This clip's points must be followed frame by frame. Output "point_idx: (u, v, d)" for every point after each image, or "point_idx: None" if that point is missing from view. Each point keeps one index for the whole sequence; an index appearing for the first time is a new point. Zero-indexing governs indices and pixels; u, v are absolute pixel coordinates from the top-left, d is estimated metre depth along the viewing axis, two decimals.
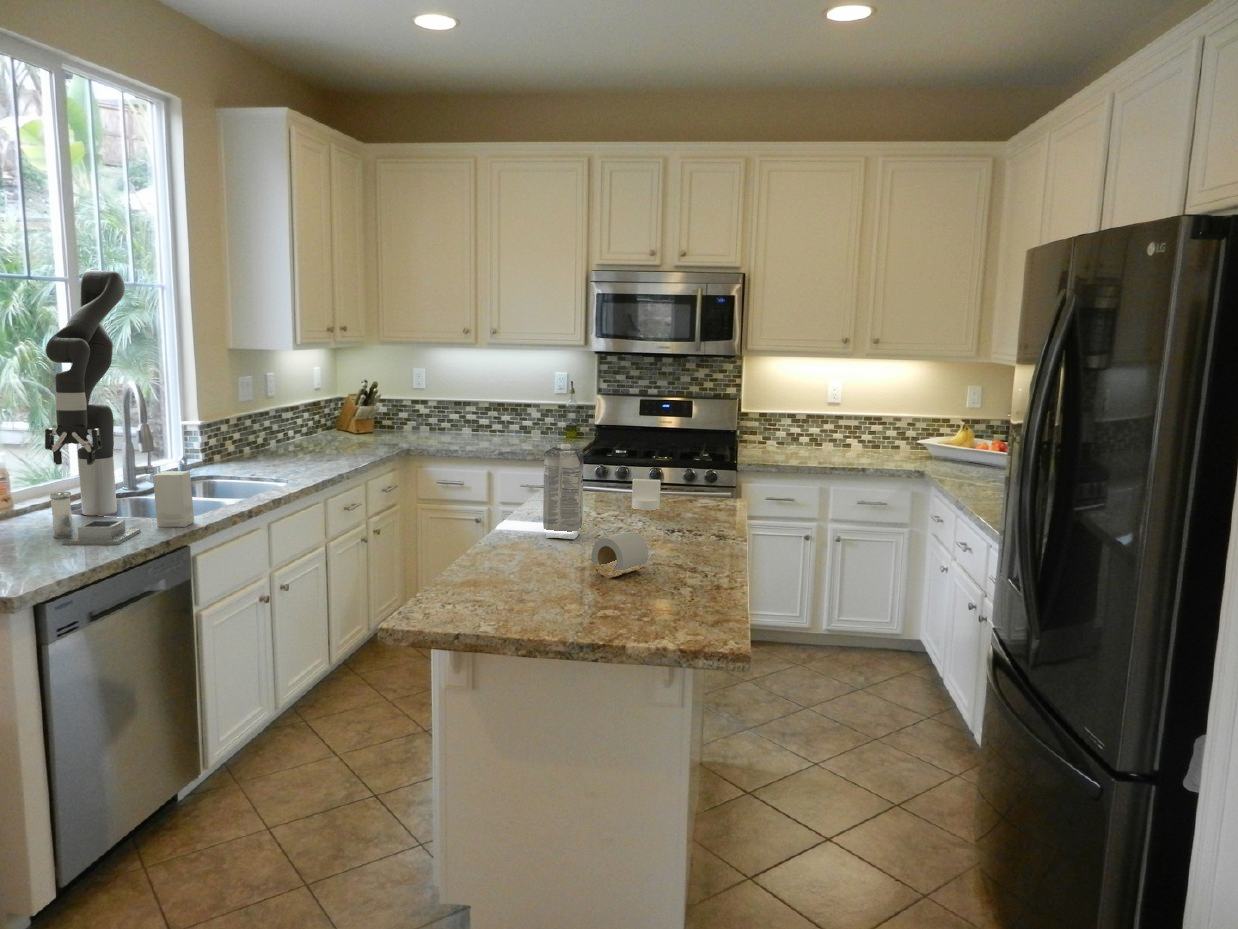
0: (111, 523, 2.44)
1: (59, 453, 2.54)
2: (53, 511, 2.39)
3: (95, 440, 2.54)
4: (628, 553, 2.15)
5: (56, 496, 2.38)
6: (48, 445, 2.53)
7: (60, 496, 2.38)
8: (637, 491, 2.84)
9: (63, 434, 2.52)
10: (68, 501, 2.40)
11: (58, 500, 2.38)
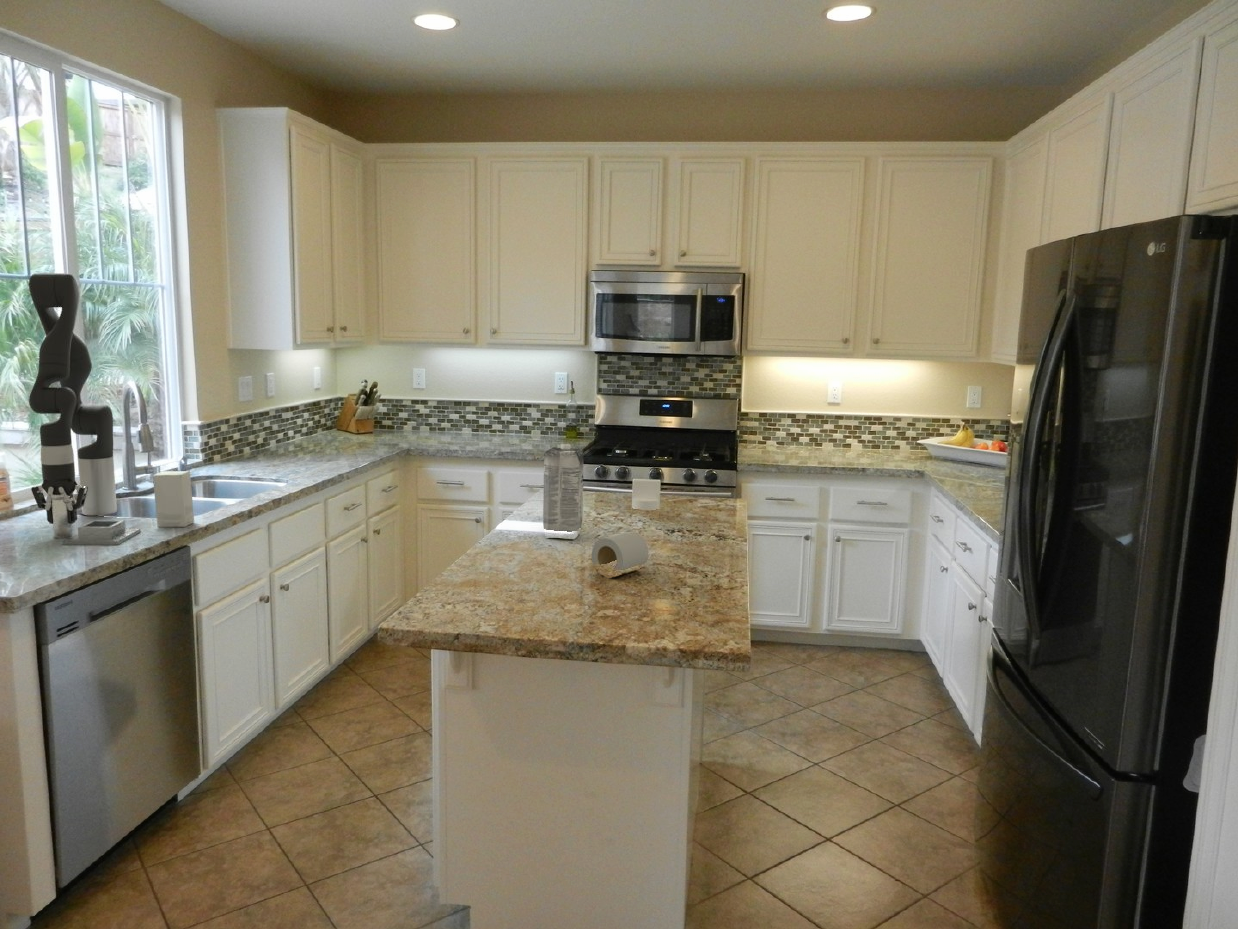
0: (111, 523, 2.44)
1: None
2: (53, 511, 2.39)
3: (80, 499, 2.40)
4: (628, 553, 2.15)
5: (56, 496, 2.38)
6: (41, 504, 2.39)
7: (60, 496, 2.38)
8: (637, 491, 2.84)
9: (50, 489, 2.38)
10: None
11: (58, 500, 2.38)
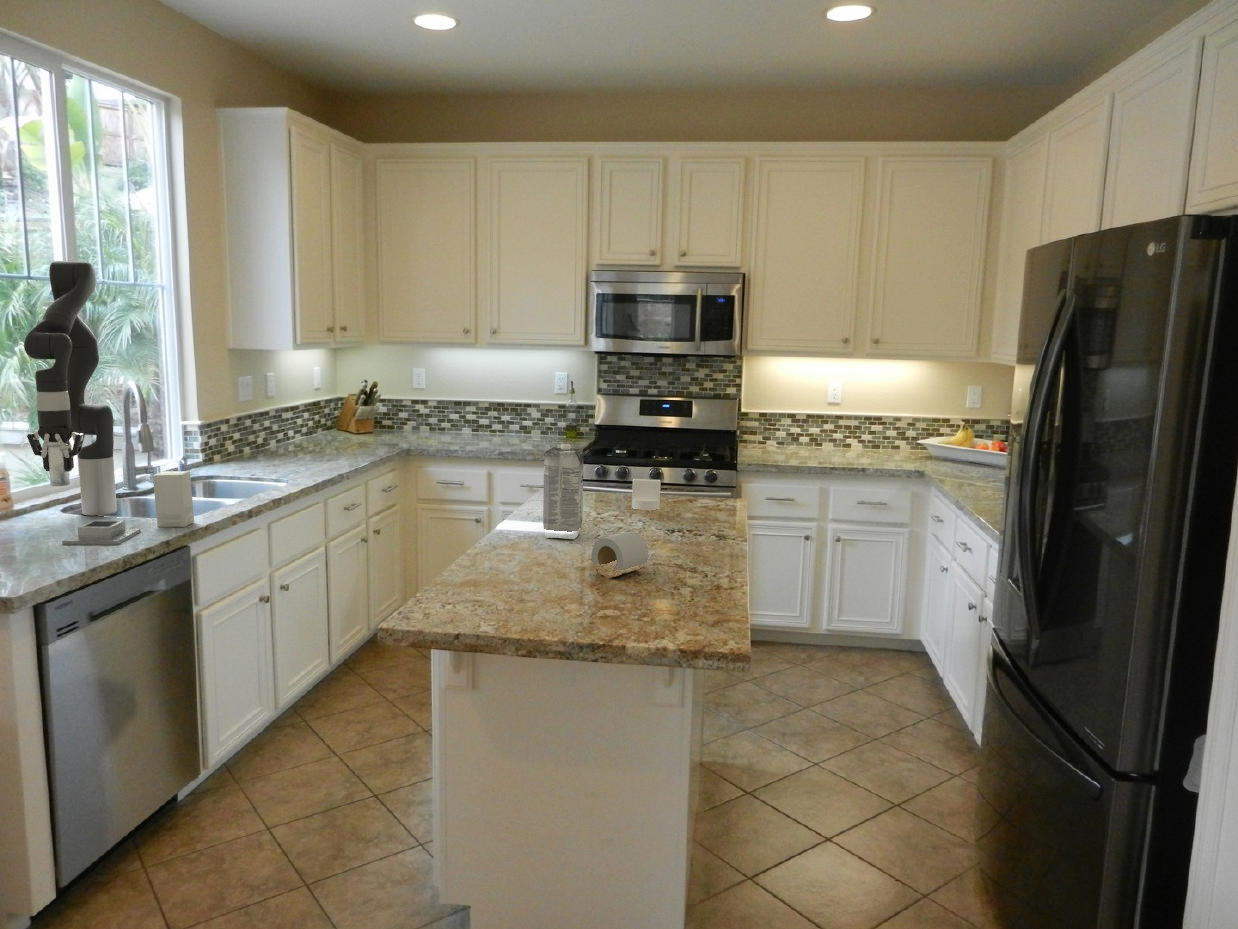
0: (111, 523, 2.44)
1: None
2: (49, 458, 2.36)
3: (76, 446, 2.37)
4: (628, 553, 2.15)
5: (52, 443, 2.35)
6: (37, 451, 2.36)
7: (56, 443, 2.36)
8: (637, 491, 2.84)
9: (46, 436, 2.35)
10: None
11: (54, 447, 2.36)
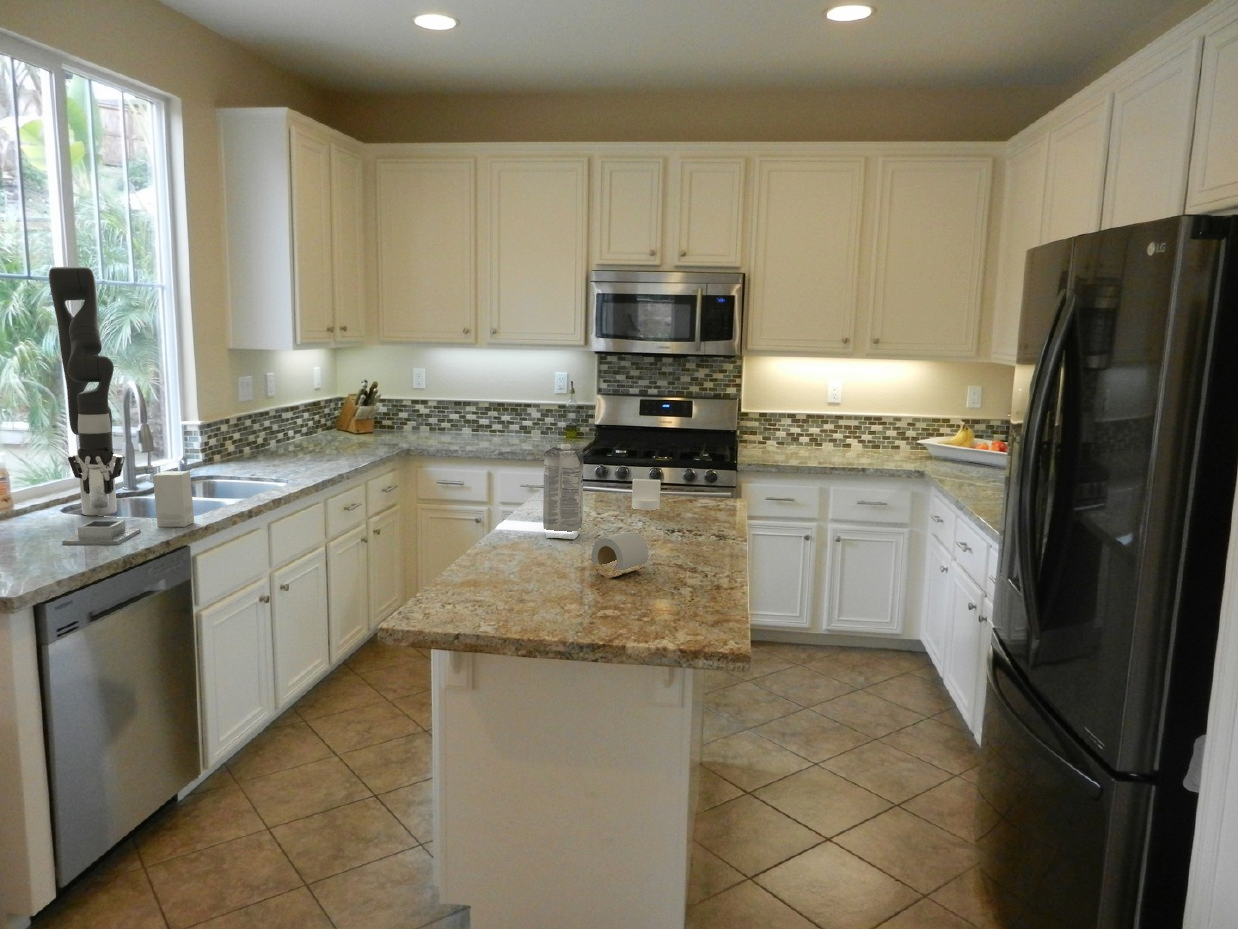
0: (111, 523, 2.44)
1: None
2: (90, 481, 2.36)
3: (116, 468, 2.37)
4: (628, 553, 2.15)
5: (93, 465, 2.35)
6: (78, 473, 2.36)
7: (97, 465, 2.36)
8: (637, 491, 2.84)
9: (87, 459, 2.35)
10: None
11: (95, 470, 2.36)
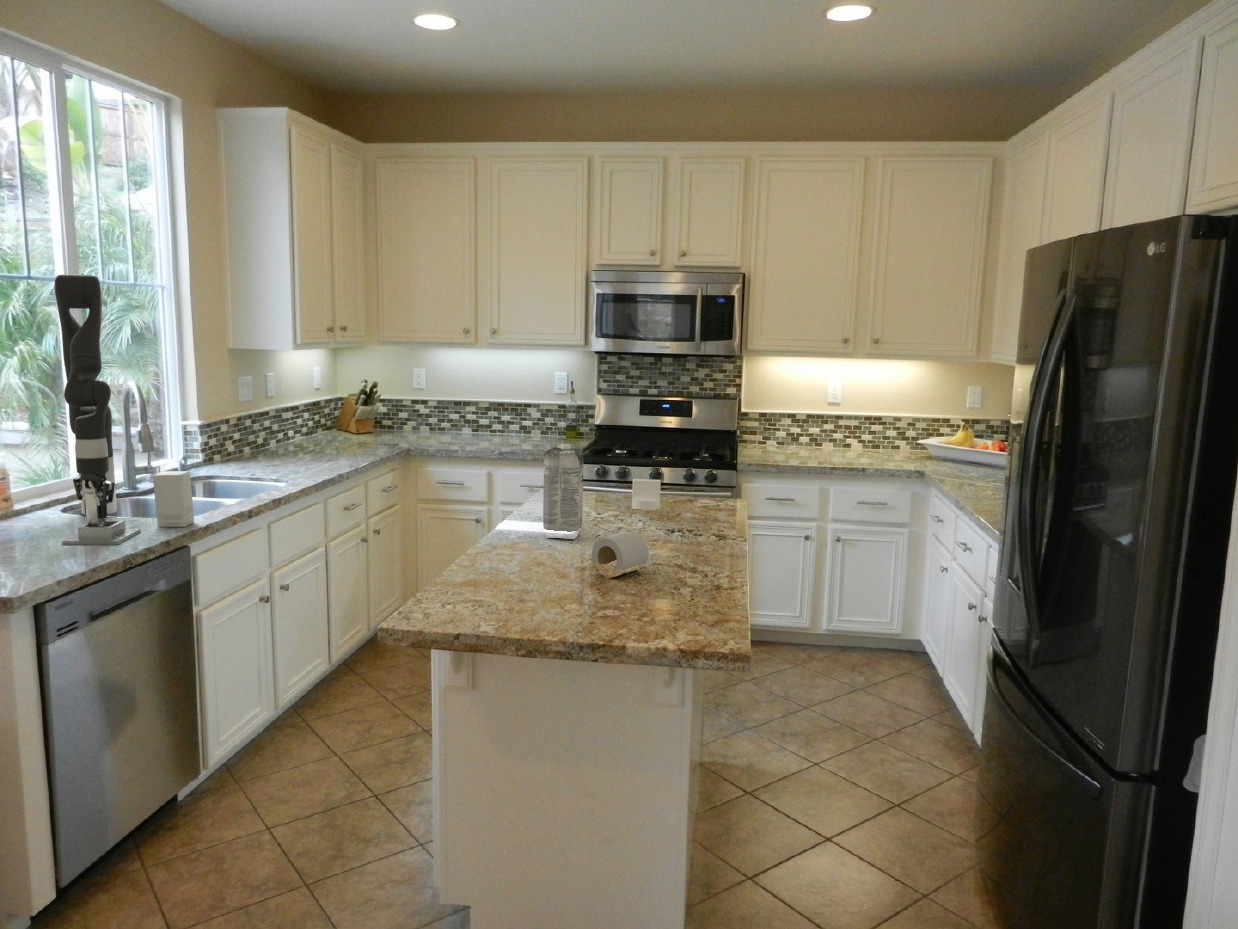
0: (111, 523, 2.44)
1: None
2: None
3: (104, 494, 2.35)
4: (628, 553, 2.15)
5: (86, 490, 2.36)
6: (79, 496, 2.39)
7: (89, 490, 2.36)
8: (637, 491, 2.84)
9: (83, 482, 2.37)
10: None
11: (87, 494, 2.36)
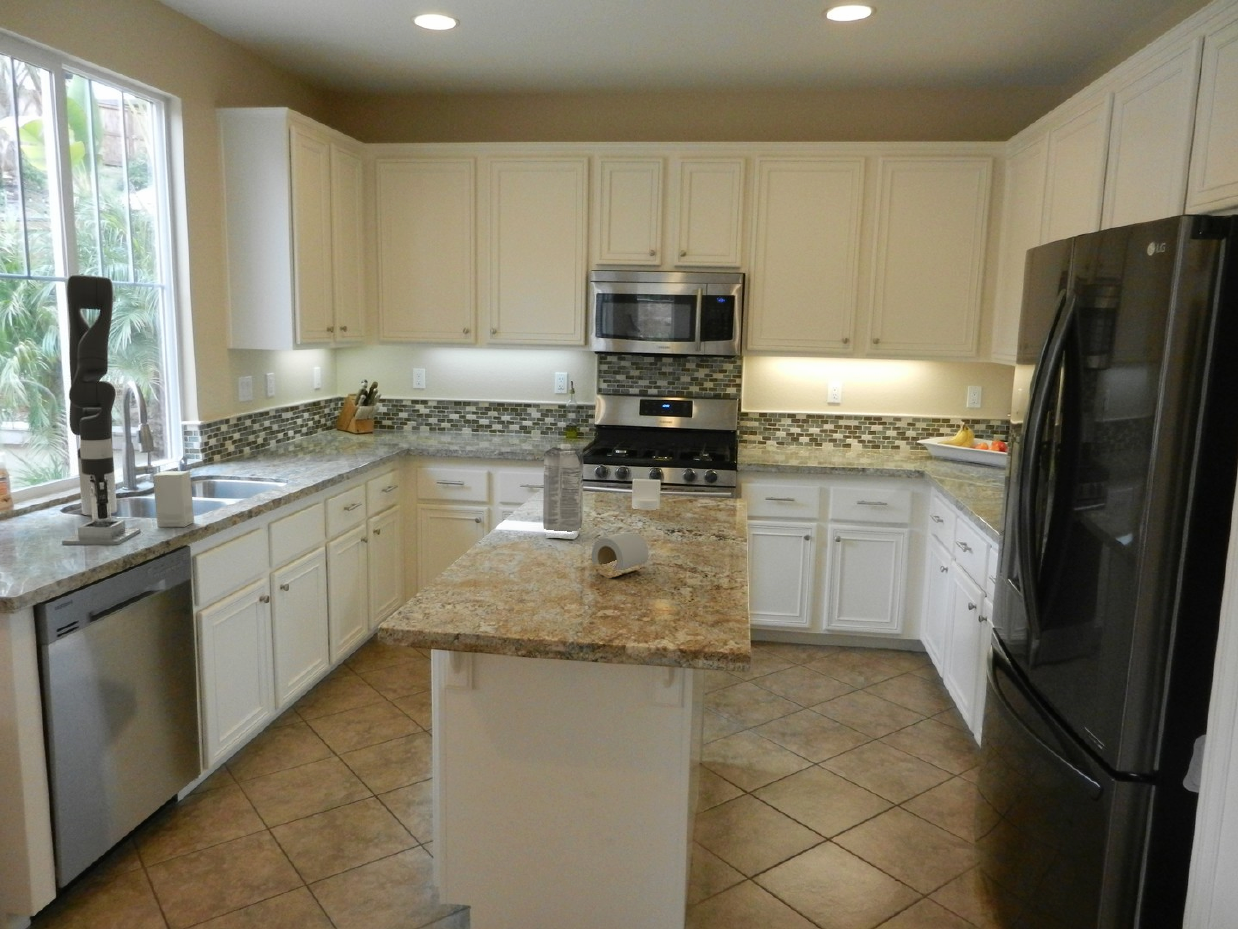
0: (111, 523, 2.44)
1: None
2: None
3: (97, 494, 2.33)
4: (628, 553, 2.15)
5: (90, 493, 2.38)
6: None
7: (91, 494, 2.37)
8: (637, 491, 2.84)
9: (89, 482, 2.39)
10: None
11: (91, 497, 2.38)
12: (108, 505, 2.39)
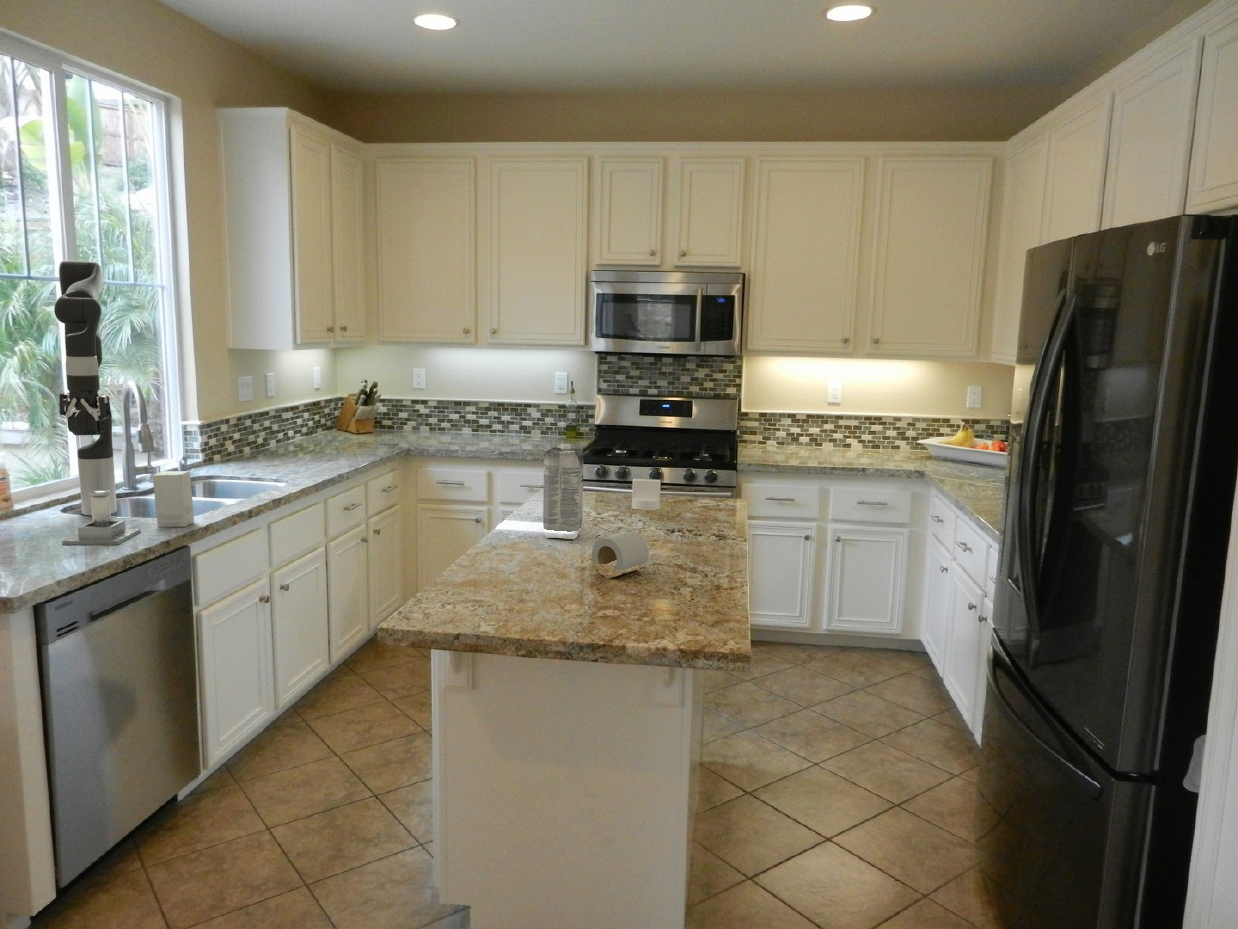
0: (111, 523, 2.44)
1: (73, 420, 2.41)
2: None
3: (102, 408, 2.37)
4: (628, 553, 2.15)
5: None
6: (62, 411, 2.40)
7: (91, 494, 2.37)
8: (637, 491, 2.84)
9: (73, 400, 2.37)
10: (99, 500, 2.37)
11: (91, 497, 2.38)
12: (108, 505, 2.39)
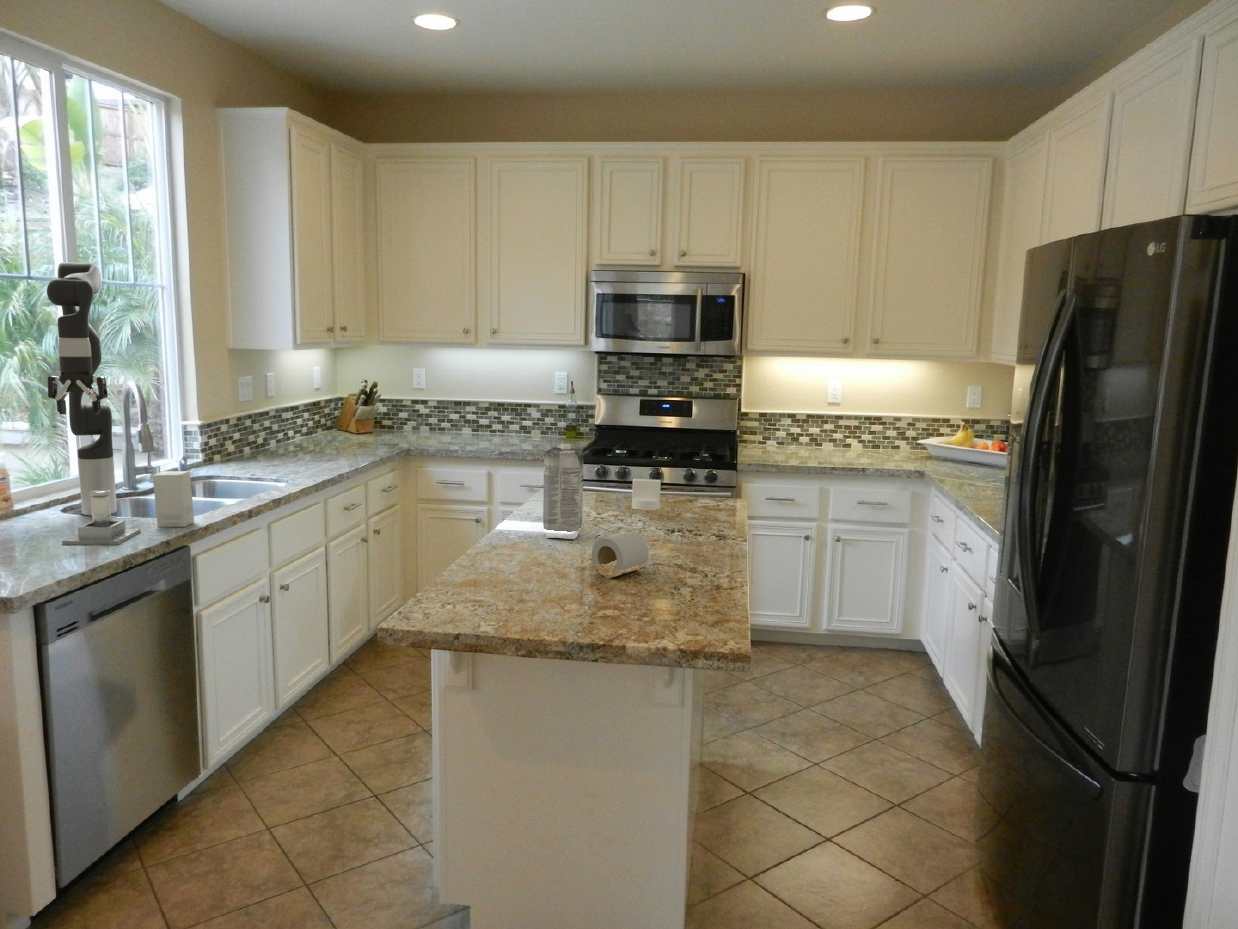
0: (111, 523, 2.44)
1: (63, 402, 2.41)
2: None
3: (101, 388, 2.40)
4: (628, 553, 2.15)
5: None
6: (51, 393, 2.39)
7: (91, 494, 2.37)
8: (637, 491, 2.84)
9: (67, 382, 2.38)
10: (99, 500, 2.37)
11: (91, 497, 2.38)
12: (108, 505, 2.39)
